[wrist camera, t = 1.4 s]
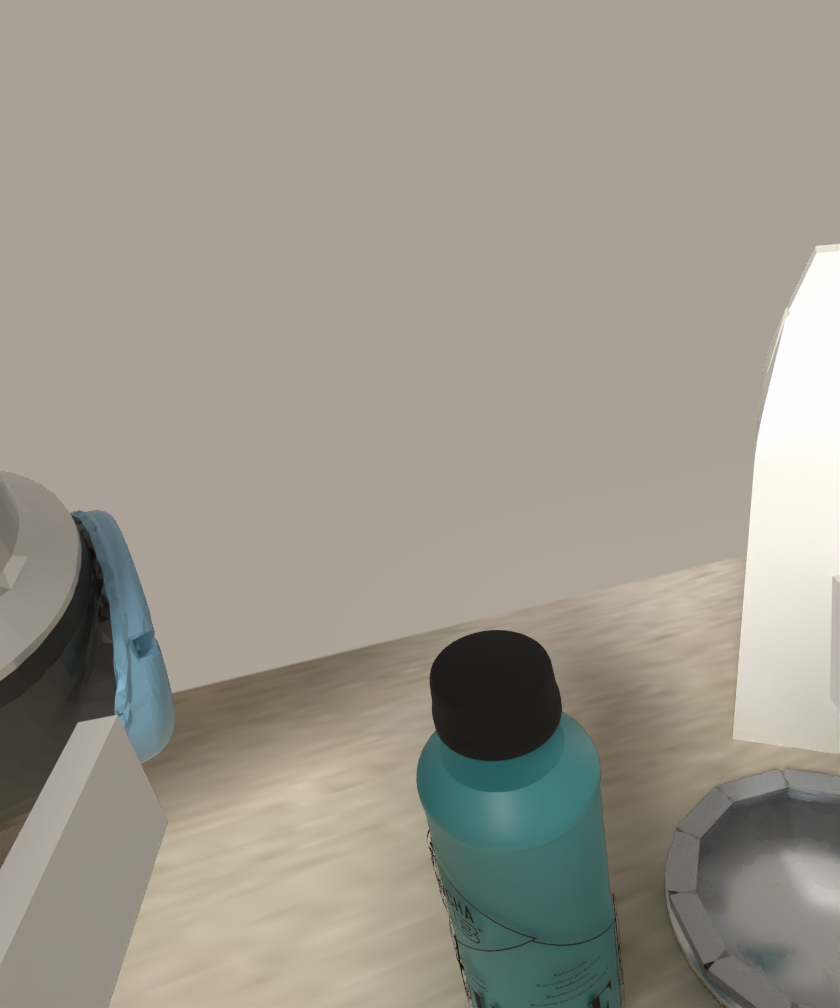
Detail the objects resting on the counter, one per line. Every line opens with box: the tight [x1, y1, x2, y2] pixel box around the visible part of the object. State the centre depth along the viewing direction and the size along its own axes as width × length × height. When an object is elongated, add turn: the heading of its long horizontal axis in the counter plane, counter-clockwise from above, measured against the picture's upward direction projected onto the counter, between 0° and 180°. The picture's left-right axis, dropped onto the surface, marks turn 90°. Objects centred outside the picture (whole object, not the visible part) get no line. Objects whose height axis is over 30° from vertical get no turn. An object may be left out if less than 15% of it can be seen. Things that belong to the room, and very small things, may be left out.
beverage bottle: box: [416, 630, 625, 1008], centre depth 29 cm, size 6×7×20 cm
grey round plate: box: [665, 769, 840, 1008], centre depth 36 cm, size 14×14×1 cm
